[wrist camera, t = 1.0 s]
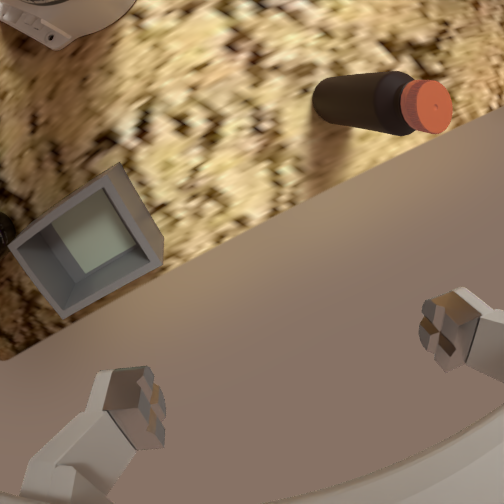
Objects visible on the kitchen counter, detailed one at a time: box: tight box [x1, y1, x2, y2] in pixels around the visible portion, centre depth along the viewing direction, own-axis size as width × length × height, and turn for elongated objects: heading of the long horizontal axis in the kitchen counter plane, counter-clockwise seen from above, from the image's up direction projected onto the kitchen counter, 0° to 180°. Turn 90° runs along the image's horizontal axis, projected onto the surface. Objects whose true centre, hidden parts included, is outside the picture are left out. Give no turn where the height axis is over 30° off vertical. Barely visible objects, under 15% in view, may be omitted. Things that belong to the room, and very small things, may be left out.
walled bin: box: [8, 162, 164, 319], centre depth 36 cm, size 16×12×8 cm
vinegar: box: [313, 71, 453, 136], centre depth 31 cm, size 7×7×20 cm
